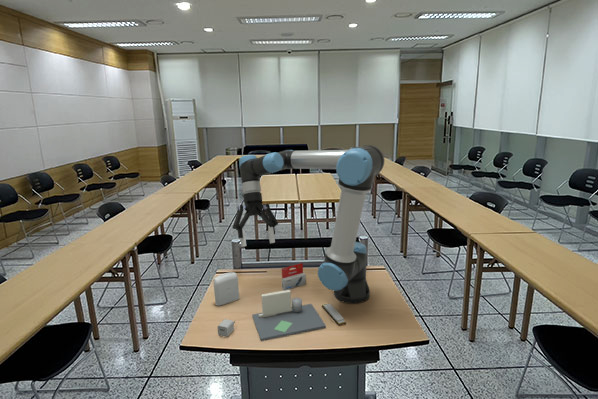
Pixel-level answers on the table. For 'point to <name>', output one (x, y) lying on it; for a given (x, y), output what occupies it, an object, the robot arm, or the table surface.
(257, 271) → the table surface
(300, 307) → the cream slab with knob
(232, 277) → the photo printer
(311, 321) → the gray rectangular board
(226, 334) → the usb wall charger
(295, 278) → the ink cartridge box
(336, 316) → the harmonica
